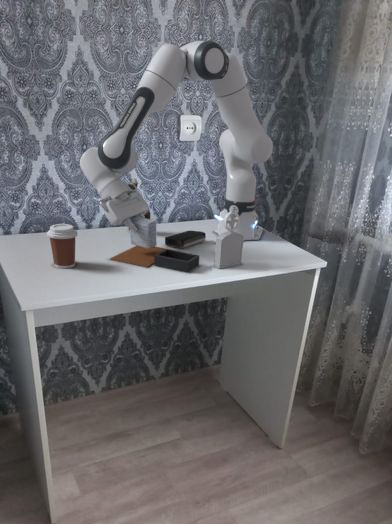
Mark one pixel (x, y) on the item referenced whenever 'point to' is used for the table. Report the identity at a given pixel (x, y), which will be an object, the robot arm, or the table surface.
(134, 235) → the medicine box
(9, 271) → the table surface
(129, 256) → the desk pad
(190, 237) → the black sponge
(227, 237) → the gravestone
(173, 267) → the frame
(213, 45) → the robot arm
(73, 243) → the coffee cup
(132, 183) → the plant with pod
